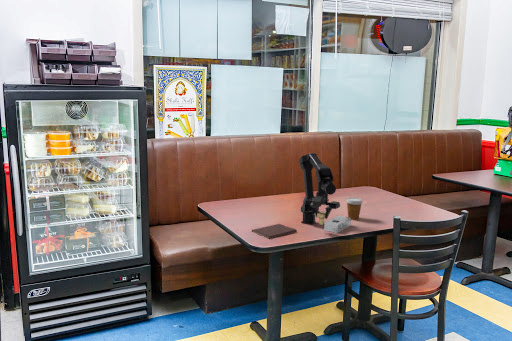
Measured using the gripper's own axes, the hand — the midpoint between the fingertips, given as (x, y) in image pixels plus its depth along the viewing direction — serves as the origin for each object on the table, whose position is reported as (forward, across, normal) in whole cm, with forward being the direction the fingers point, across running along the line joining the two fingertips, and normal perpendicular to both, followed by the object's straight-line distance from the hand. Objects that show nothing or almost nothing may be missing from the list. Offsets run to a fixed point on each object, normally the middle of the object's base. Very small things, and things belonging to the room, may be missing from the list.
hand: (321, 218), depth 262 cm
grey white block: (+8, +4, +13) cm, 16 cm away
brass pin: (+3, 0, 0) cm, 3 cm away
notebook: (+9, -21, -15) cm, 27 cm away
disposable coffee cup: (+8, +4, +36) cm, 37 cm away
